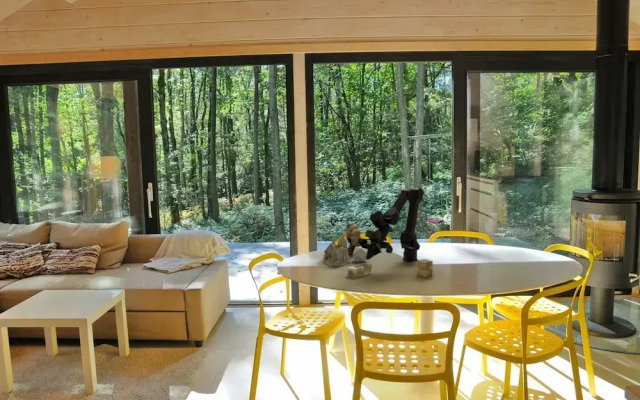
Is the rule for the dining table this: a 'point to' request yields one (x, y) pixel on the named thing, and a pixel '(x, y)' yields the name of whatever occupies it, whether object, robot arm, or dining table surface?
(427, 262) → the oak block
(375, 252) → the robot arm
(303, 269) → the dining table surface
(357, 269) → the cream two-panel pillar
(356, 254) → the die
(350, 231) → the brown lumpy rock
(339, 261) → the jagged grey rock
